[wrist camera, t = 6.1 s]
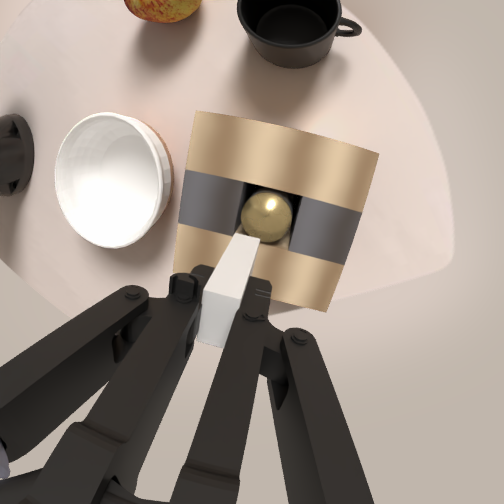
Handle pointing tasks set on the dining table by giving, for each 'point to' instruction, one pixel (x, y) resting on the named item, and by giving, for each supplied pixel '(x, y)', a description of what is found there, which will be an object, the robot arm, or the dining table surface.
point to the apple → (162, 9)
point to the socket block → (281, 178)
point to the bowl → (113, 179)
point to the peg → (268, 214)
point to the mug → (294, 29)
